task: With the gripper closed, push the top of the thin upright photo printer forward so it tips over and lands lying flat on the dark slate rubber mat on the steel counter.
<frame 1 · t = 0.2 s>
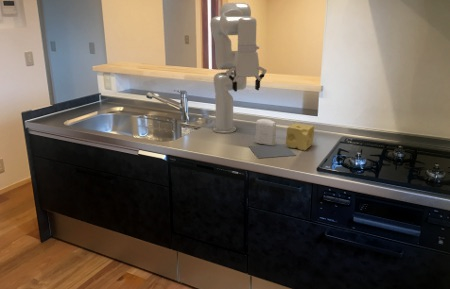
hand: (246, 90, 170), 31 cm above the worktop, fingers open, 9 cm apart
photo printer: (265, 144, 199), on the worktop, touching mat
mat: (271, 151, 189), on the worktop
cheese: (298, 146, 195), on the worktop, touching mat
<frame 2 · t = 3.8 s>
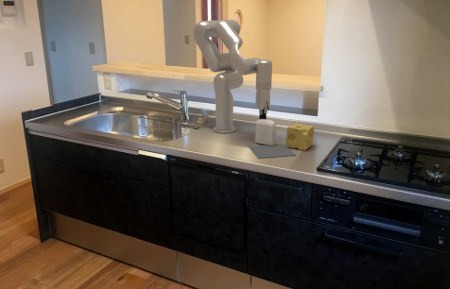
hand: (262, 122, 201), 10 cm above the worktop, fingers closed
photo printer: (265, 144, 199), on the worktop, touching gripper, mat
everything else where it was.
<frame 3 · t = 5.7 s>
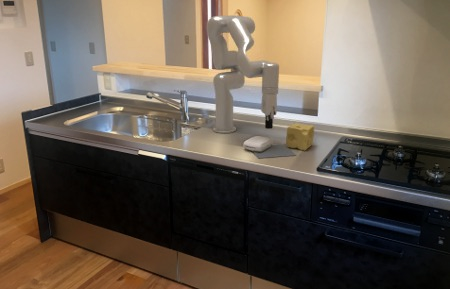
hand: (268, 128, 191), 10 cm above the worktop, fingers closed
photo printer: (264, 140, 196), point 2 cm above the worktop, touching mat
everything else where it was.
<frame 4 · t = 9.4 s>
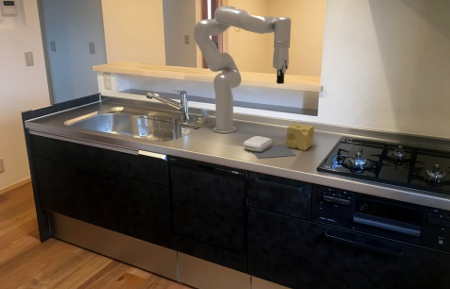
hand: (280, 83, 195), 29 cm above the worktop, fingers closed
nothing on the worktop moved.
at the end: photo printer tilted 90°; photo printer inside the target area (7.8 cm from its centre), point 2.4 cm above the worktop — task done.
